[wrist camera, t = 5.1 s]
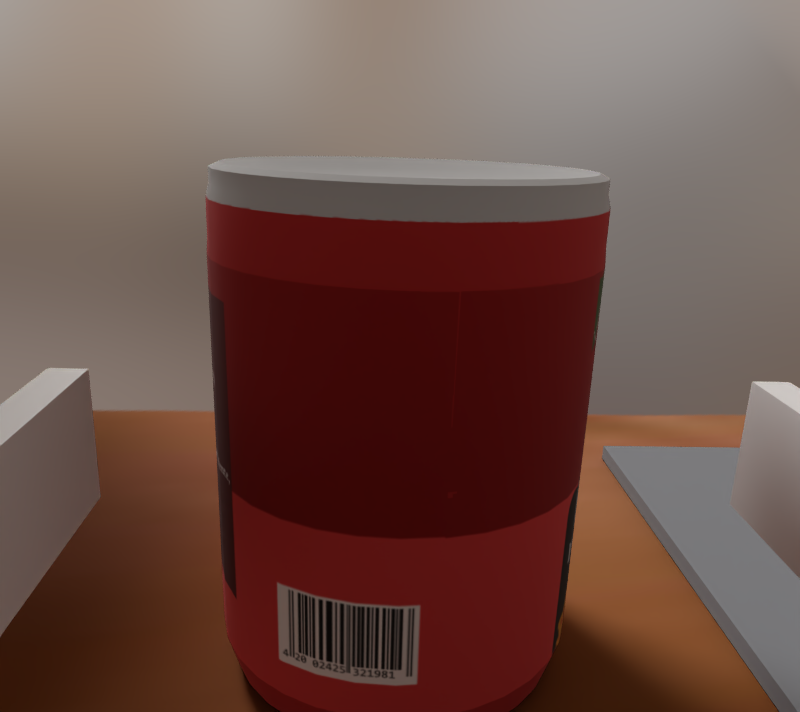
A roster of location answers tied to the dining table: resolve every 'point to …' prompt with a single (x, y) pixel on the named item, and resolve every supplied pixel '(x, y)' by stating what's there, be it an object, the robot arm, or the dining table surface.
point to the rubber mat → (720, 555)
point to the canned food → (400, 421)
